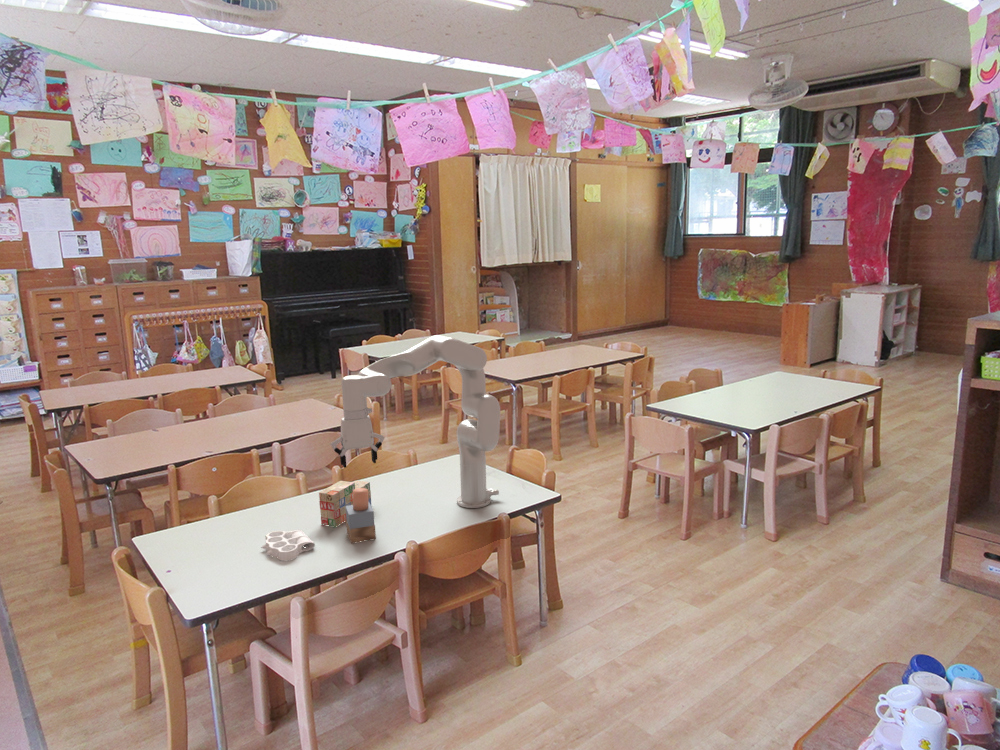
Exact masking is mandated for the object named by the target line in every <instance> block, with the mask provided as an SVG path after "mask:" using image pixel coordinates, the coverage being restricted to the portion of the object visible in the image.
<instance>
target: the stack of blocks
mask: <svg viewBox="0 0 1000 750" xmlns="http://www.w3.org/2000/svg"><path fill="white" fill-rule="evenodd" d="M370 483H371V482H369V481H363V480H354V481H352V482H351V481H345V480H339V481H337V482H336V483H333V484H332V485H330V486H328V487H326V488H325V489H322V490H321V491H318V496H319V510H320V522H321V524H324V525H323V526H325V525H329V526H328V527H330V526H334V527H333V528H337V527H339V526H340V525H339V524H341V523H342V522H344V521H346V507H345V506H349V505H353V490H354V489H357V488H365V489H368V503H370V505H371V506H372V492H371V484H370ZM344 523H345V522H344ZM342 524H343V523H342ZM342 524H341V525H342ZM338 525H339V526H338ZM336 526H337V527H336Z"/></svg>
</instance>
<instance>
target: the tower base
mask: <svg viewBox="0 0 1000 750" xmlns="http://www.w3.org/2000/svg"><path fill="white" fill-rule="evenodd" d="M345 524H346V534H348V535H347V536H348V539H349V542H350V544H355V542H357V543H361V542H360V541H362V542H365V541H364V540H368V541H371V540H370V539H374V540H377V535H376V525H375V523H374V526H367V527H361V528H355V529H350V528H349V526H348V523H347V520H346V522H345Z"/></svg>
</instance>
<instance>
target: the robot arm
mask: <svg viewBox="0 0 1000 750" xmlns="http://www.w3.org/2000/svg"><path fill="white" fill-rule="evenodd" d="M438 362H445V363H449V364H451V365H453V366H455V367H456V369H457V370H458V371H459V373H460V376H461V401H460V403H461V410H462V411H461V412H463V413H464V414H465V415H466V416H468V417H472V419H471V418H467V419H464V420H462V421H461V422H460V423H458V426H457V429H456V440H457V444H458V445H457V446H458V449H459V468H460V470H459V471H460V474H459V475H460V495H459V497H457V499H456V502H457V503H456V504H457V505H458V506H460V507H462V508H467V509H478V508H479V509H480V508H484V507H487V506H488V505H489V504H491V502H492V498H491V497H492V496H499V495H500V490H499V489H493V488H487V463H486V462H487V459H486V458H487V457H486V452H491V451H493V450H494V449H495V448H496V446H497V445H498V443H499V439H500V433H501V432H500V430H501V429H500V427H501V404H500V402H499V401H498V399H497V398H496V396H494V395H491V394H490V393H487V390H486V384H487V383H486V373H485V370H484V368H485V366H486V365H487V362H488V357H487V353H486V351H485V350H484V349H483V348H481V347H479V346H476V345H474V344H471V343H467V342H465V341H462V340H459V339H457V338H454V337H450V336H446V335H442V334H441V335H440V334H436V335H432V336H430V337H428V338H426V339H425V340H422V341H420V342H419V343H417V344H415V345H414V346H412V347H410V348H409V349H406V350H405V351H403V352H400V353H397V354H393V355H390V356H387V357H385V358H382V359H379V360H377V361H375V362H373V363H370V364H369V365H367V366H366V367H364V368H363V369H361V370H360V371H359V372H358V373H357V374H352V375H351V374H350V375H349V374H348V375H346V376H344V377H342V379H341V396H342V397H341V398H342V408H343V417H341V421H340V436H339V437H337V438H336V439H335V440H333V441H331V442H330V443H329V444H330V446H331V448H332V450H334V452H335V453H336V454H338V455H339V460H340V461H339V462H340V466H342V467H343V468H344V469H345V468H347V457H346V452H348V450H349V451H351V450H357V449H364V448H371V452H370V454H371V462H372V463H373V464H377V460H378V451H379V449H380V448H381V447H382V446H383V443H384V440H385V436H384V435H382V434H380V433H376V432H374V429H373V424H372V420H371V417H370V415H369V414H370V413H372V412H373V410H372V408H371V407H370V408H369V407H368V401H367V399H368V398H369V397H371V398H372V397H382V396H385V395H387V394H389V392H390V391H391V389H392V381H391V379H392V378H396V377H408V376H414V375H416V374H419V373H421V372H423V371H424V370H426V369H427V368H429V367H431V366H432V365H434V364H436V363H438ZM375 438H376V439H378V440H377V441H376V443H375ZM339 444H341V448H338V447H337V445H339Z"/></svg>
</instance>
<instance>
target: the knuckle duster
mask: <svg viewBox="0 0 1000 750" xmlns="http://www.w3.org/2000/svg"><path fill="white" fill-rule="evenodd" d="M303 546H304V547H306V548H304V547H303ZM315 547H316V544H315V542H314V541H312V540H311V538H310V537H309V536H308V535H307V534H305V532H304V531H303V530H300V529H294V530H291V531H284V530H274V531H271V532H268V533H267V534H266V535H265V544H264V545H262V546H261V547H260V548H262V549H265V550H266V555H269V556H271V557H272V556H273V557H272V558H277V557H278V558H277V559H279V560H278V561H280V560H283V561H282V562H286V561H285V560H289V561H291V559H293V560H295V559H296V558H297V556H299V555H300V553H304V552H308V551H312V549H314V548H315ZM267 551H268V552H267ZM294 558H295V559H294Z"/></svg>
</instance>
